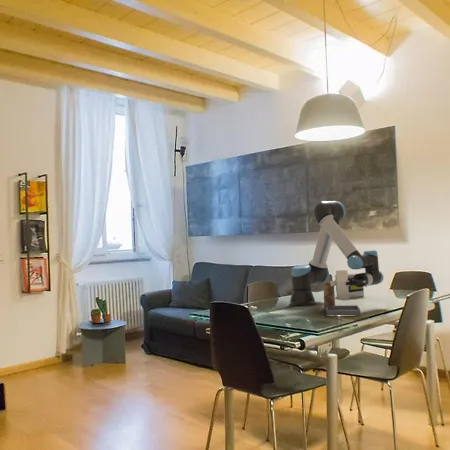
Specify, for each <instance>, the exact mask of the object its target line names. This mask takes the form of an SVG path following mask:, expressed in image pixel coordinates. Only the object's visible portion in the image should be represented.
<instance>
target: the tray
mask: <svg viewBox="0 0 450 450" xmlns="http://www.w3.org/2000/svg"><path fill="white" fill-rule="evenodd" d="M325 311H326V312H327V313H326V312H325V313H326V316H327V315H355V316H354V317H361V316H362V314H361V309H360V307H359V305H358V304H357V305H354V304H353V305H335V306H326V310H325Z"/></svg>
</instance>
